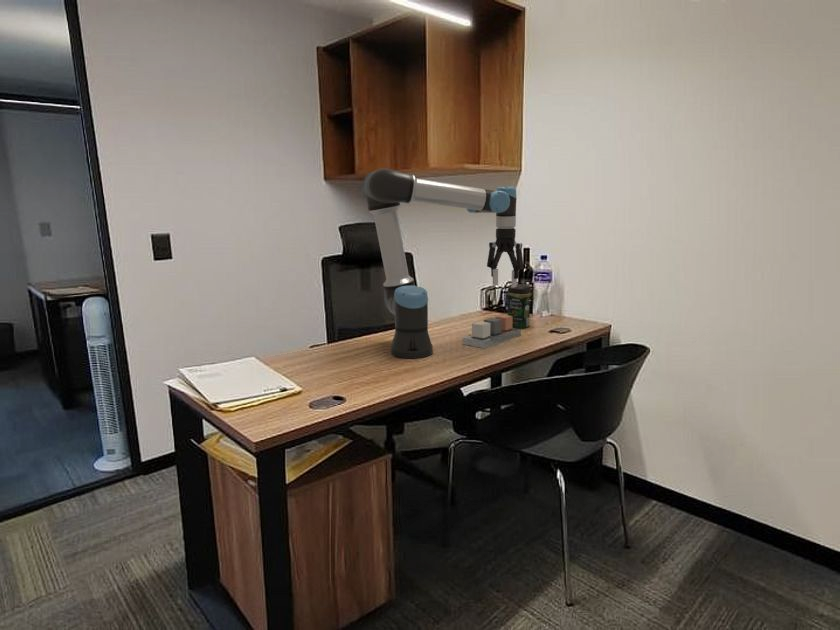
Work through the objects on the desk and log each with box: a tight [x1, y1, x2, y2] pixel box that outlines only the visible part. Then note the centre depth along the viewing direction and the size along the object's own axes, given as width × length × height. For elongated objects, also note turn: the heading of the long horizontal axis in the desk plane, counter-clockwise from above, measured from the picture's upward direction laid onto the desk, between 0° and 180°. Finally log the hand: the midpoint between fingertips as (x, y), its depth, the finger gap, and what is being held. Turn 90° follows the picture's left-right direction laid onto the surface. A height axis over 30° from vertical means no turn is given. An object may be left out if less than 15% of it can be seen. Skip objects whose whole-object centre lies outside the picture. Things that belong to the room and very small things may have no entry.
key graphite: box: [483, 317, 502, 334], centre depth 201 cm, size 5×5×5 cm
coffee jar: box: [507, 283, 532, 329], centre depth 222 cm, size 10×8×19 cm
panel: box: [462, 327, 522, 349], centre depth 202 cm, size 26×10×2 cm, turn 139°
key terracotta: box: [494, 314, 513, 330], centre depth 207 cm, size 5×5×5 cm
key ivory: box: [471, 320, 490, 338], centre depth 196 cm, size 5×5×5 cm
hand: (504, 286), depth 204 cm, fingers open, 8 cm apart
